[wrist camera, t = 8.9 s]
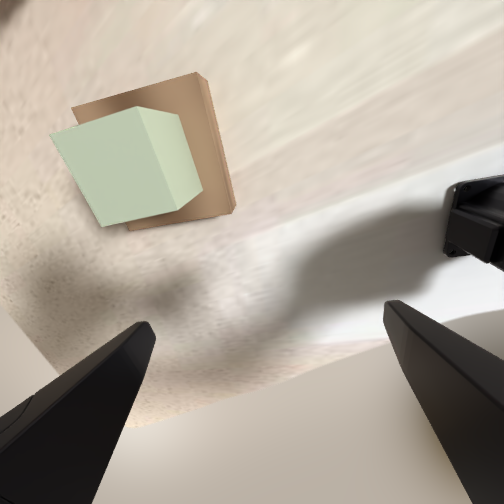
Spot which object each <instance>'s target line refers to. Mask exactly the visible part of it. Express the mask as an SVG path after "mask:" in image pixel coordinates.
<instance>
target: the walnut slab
mask: <svg viewBox="0 0 504 504" xmlns="http://www.w3.org/2000/svg"><path fill="white" fill-rule="evenodd" d="M136 106H139V107H143V108H148V109H153V110H158V111H163V112H168V113H172V114H177V115H178V116H179V119H180V122H181V125H182V128H183V131H184V134H185V137H186V140H187V143H188V146H189V149H190V152H191V155H192V158H193V161H194V164H195V167H196V170H197V173H198V176H199V179H200V182H201V185H202V188H203V191H202V192H200V193H199V194H198V195H197V196H195V197H194V198H193V199H192V200H190V201H189V202H188V203H186V204H185V205H184V206H183V207H181V208H180V209H179V210H177V211H172V212H168V213H163V214H159V215H154V216H150V217H145V218H140V219H136V220H131V221H127V222H125V223H126V225H127V227H128V229H129V231H132V230H138V229H144V228H150V227H156V226H162V225H168V224H174V223H180V222H186V221H192V220H197V219H203V218H209V217H215V216H221V215H227V214H232V212H233V210H234V208H235V206H236V201H235V197H234V193H233V188H232V184H231V180H230V175H229V171H228V167H227V162H226V158H225V154H224V150H223V145H222V141H221V137H220V132H219V128H218V124H217V120H216V115H215V111H214V107H213V102H212V98H211V94H210V90H209V85H208V81H207V80H206V79H205V78H203V77H202V76H201V75H200V74H198V73H197V72H194V73H191V74H187V75H184V76H180V77H177V78H173V79H170V80H167V81H163V82H160V83H156V84H153V85H149V86H146V87H142V88H139V89H135V90H132V91H128V92H125V93H121V94H118V95H114V96H111V97H107V98H104V99H100V100H97V101H93V102H90V103H86V104H83V105H79V106H76V107H72V108H71V109H72V111H73V113H74V115H75V117H76V119H77V121H78V124H79V125H80V124H84V123H87V122H90V121H93V120H96V119H99V118H102V117H105V116H108V115H111V114H114V113H117V112H120V111H123V110H126V109H129V108H133V107H136Z"/></svg>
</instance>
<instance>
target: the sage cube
mask: <svg viewBox="0 0 504 504" xmlns="http://www.w3.org/2000/svg"><path fill="white" fill-rule="evenodd" d="M49 136H50V137H51V139H52V141H53V143H54V144H55V146H56V148H57V150H58V151H59V153H60V155H61V157H62V159H63V160H64V162H65V164H66V166H67V167H68V169H69V171H70V173H71V174H72V176H73V178H74V180H75V181H76V183H77V185H78V187H79V188H80V190H81V192H82V194H83V195H84V197H85V199H86V201H87V202H88V204H89V206H90V208H91V209H92V211H93V213H94V215H95V216H96V218H97V220H98V222H99V223H100V225H101V227H104V226H109V225H113V224H118V223H122V222H127V221H131V220H136V219H140V218H145V217H150V216H154V215H159V214H163V213H168V212H172V211H177V210H179V209H180V208H181V207H183V206H184V205H185V204H186V203H188V202H189V201H190V200H192V199H193V198H194V197H195V196H197V195H198V194H199V193H200V192H202V191H203V188H202V185H201V182H200V179H199V176H198V173H197V170H196V167H195V164H194V161H193V158H192V155H191V152H190V149H189V146H188V143H187V140H186V137H185V134H184V131H183V128H182V125H181V122H180V119H179V116H178V115H177V114H172V113H168V112H163V111H158V110H153V109H148V108H143V107H139V106H136V107H133V108H129V109H126V110H123V111H120V112H117V113H114V114H111V115H108V116H105V117H102V118H99V119H96V120H93V121H90V122H87V123H84V124H80V125H77V126H74V127H71V128H68V129H65V130H62V131H59V132H56V133H53V134H50V135H49Z"/></svg>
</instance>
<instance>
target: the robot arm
mask: <svg viewBox="0 0 504 504" xmlns="http://www.w3.org/2000/svg"><path fill="white" fill-rule="evenodd" d="M465 186H467V188H466V189H465V190H464V191H463V189H464V187H465ZM445 239H446V240H445V245H444V250H443V253H444V254H445V255H446V256H448V257H458V256H467V255H472V256H474V257H475V258H477V259H479V260H480V261H482V262H484V263H486V264H487V263H490V264H492V265H493V266H495V267H497V268H498V269H500V270H502V271H503V272H504V175H498V176H492V177H486V178H480V179H474V180H468V181H463V182H461V183H460V184H459V185H458V186H457V187H456V191H455V196H454V201H453V206H452V211H451V212H450V217H449V222H448V227H447V232H446V237H445ZM451 250H453V251H452V252H450V251H451ZM383 323H384V326H385V329H386V331H387V334H388V336H389V339H390V341H391V344H392V346H393V349H394V351H395V354H396V356H397V359H398V361H399V364H400V366H401V368H402V371H403V373H404V374H405V377H406V379H407V380H408V382H409V384H410V386H411V388H412V390H413V392H414V394H415V395H416V398H417V399H418V401H419V403H420V405H421V407H422V409H423V411H424V413H425V415H426V416H427V418H428V420H429V422H430V424H431V426H432V428H433V430H434V432H435V433H436V435H437V437H438V439H439V441H440V443H441V445H442V447H443V449H444V451H445V452H446V454H447V456H448V458H449V460H450V462H451V463H452V466H453V468H454V469H455V471H456V473H457V475H458V477H459V479H460V481H461V483H462V485H463V486H464V488H465V490H466V492H467V494H468V496H469V498H470V500H471V502H472V503H473V504H504V360H502V359H500V358H498V357H497V356H495V355H493V354H492V353H489V352H488V351H486V350H485V349H483V348H481V347H479V346H477V345H476V344H474V343H472V342H471V341H469V340H467V339H466V338H464V337H462V336H460V335H459V334H457V333H455V332H454V331H452V330H450V329H448V328H447V327H445V326H443V325H441V324H440V323H438V322H436V321H435V320H433V319H431V318H429V317H428V316H426V315H424V314H422V313H421V312H419V311H417V310H415V309H414V308H412V307H410V306H409V305H407V304H405V303H403V302H402V301H400V300H391V301H386V302H385V304H384V314H383ZM155 341H156V336H155V333H154V332H153V330H152V328H151V326H150V324H149V323H148V322H147V321H141V322H136V323H135V324H133V325H132V326H130V327H129V328H127V329H126V330H125V331H123V332H122V333H120V334H119V335H117V336H116V337H115V338H113V339H112V340H110V341H109V342H107V343H106V344H105V345H103V346H102V347H100V348H99V349H97V350H96V351H95V352H93V353H92V354H90V355H89V356H87V357H86V358H85V359H83V360H82V361H80V362H79V363H77V364H76V365H75V366H73V367H72V368H70V369H69V370H67V371H66V372H65V373H63V374H62V375H60V376H59V377H58V378H56V379H55V380H53V381H52V382H51V383H49V384H48V385H46V386H45V387H43V388H42V389H40V390H39V391H38V392H36V393H35V395H32V396H30V397H29V398H28V399H26V400H25V401H23V402H22V403H21V404H19V405H17V406H16V407H15V408H13V409H12V410H10V411H9V412H7V413H6V414H4V415H3V416H1V417H0V504H92V502H93V499H94V497H95V495H96V492H97V490H98V487H99V485H100V483H101V480H102V478H103V475H104V473H105V471H106V468H107V466H108V463H109V461H110V459H111V456H112V454H113V451H114V449H115V447H116V444H117V442H118V439H119V437H120V435H121V432H122V430H123V427H124V425H125V422H126V420H127V418H128V415H129V413H130V410H131V408H132V406H133V403H134V401H135V398H136V396H137V394H138V391H139V389H140V386H141V384H142V381H143V379H144V376H145V373H146V370H147V367H148V363H149V360H150V357H151V354H152V351H153V347H154V344H155Z"/></svg>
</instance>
